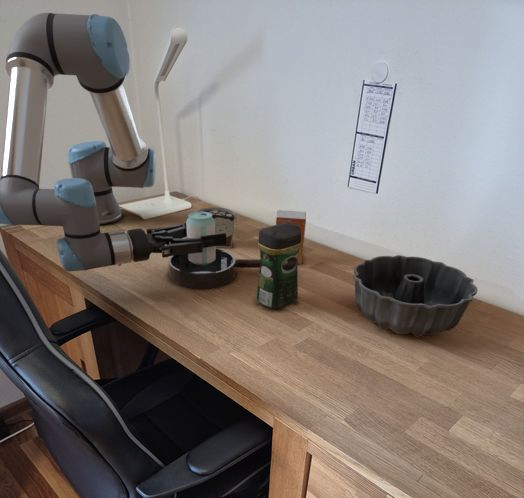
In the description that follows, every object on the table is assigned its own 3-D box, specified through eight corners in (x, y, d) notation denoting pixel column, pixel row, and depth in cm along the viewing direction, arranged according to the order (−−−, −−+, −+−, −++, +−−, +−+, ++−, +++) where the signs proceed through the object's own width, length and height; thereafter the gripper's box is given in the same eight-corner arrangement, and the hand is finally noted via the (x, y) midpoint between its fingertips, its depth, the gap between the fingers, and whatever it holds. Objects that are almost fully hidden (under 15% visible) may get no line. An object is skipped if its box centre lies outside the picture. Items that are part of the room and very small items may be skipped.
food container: (239, 240, 141) (239, 208, 135) (236, 248, 136) (236, 215, 130) (200, 237, 142) (198, 205, 136) (195, 245, 136) (194, 212, 131)
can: (186, 256, 120) (184, 210, 113) (213, 254, 122) (212, 209, 115) (190, 267, 114) (187, 220, 108) (217, 265, 116) (217, 218, 109)
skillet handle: (233, 269, 119) (233, 261, 118) (233, 265, 121) (233, 257, 120) (283, 269, 120) (284, 261, 119) (282, 265, 122) (283, 258, 121)
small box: (273, 262, 128) (275, 216, 121) (274, 253, 133) (276, 209, 126) (302, 264, 128) (306, 218, 120) (301, 255, 133) (306, 211, 126)
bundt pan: (326, 299, 111) (331, 260, 106) (415, 284, 120) (424, 248, 114) (389, 358, 91) (400, 315, 86) (490, 336, 100) (505, 295, 94)
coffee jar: (280, 289, 115) (284, 216, 104) (302, 301, 110) (309, 226, 99) (250, 300, 109) (252, 224, 99) (272, 313, 104) (276, 235, 94)
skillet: (172, 260, 127) (171, 247, 124) (234, 260, 128) (234, 247, 126) (166, 289, 112) (165, 274, 110) (236, 288, 114) (236, 274, 112)
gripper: (121, 246, 116) (205, 234, 126) (142, 277, 102) (235, 261, 111) (117, 217, 112) (204, 207, 121) (139, 245, 98) (235, 232, 107)
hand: (219, 233), depth 116 cm, fingers closed on can, 7 cm apart
